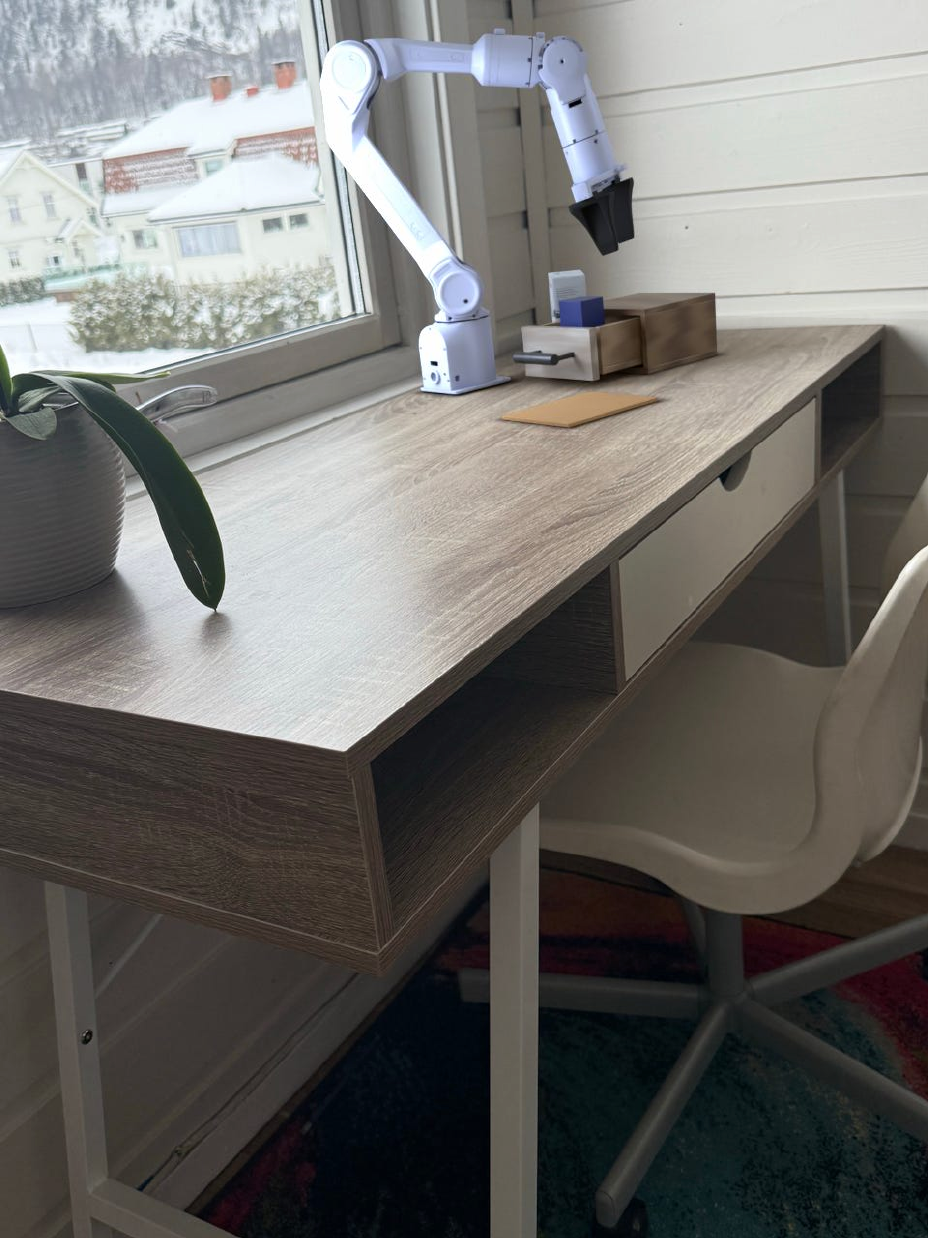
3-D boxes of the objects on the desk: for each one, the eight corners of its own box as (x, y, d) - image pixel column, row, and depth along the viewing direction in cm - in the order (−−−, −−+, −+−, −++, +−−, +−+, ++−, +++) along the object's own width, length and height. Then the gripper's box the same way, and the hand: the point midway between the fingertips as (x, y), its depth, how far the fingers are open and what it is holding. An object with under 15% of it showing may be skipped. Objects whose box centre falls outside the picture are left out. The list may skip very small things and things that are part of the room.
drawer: (568, 387, 138) (563, 334, 136) (501, 382, 148) (496, 332, 145) (661, 362, 148) (659, 312, 145) (593, 358, 157) (589, 311, 155)
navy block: (585, 365, 145) (580, 301, 142) (563, 364, 148) (558, 301, 145) (607, 360, 147) (603, 296, 144) (585, 358, 150) (580, 296, 147)
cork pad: (569, 427, 122) (568, 423, 121) (501, 419, 130) (501, 415, 130) (658, 400, 129) (658, 397, 129) (589, 394, 138) (589, 391, 137)
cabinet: (648, 374, 146) (644, 309, 143) (573, 369, 156) (568, 308, 153) (717, 354, 153) (715, 292, 150) (642, 351, 163) (638, 292, 160)
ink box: (592, 358, 162) (585, 272, 158) (557, 362, 162) (550, 277, 158) (587, 350, 170) (581, 268, 166) (554, 354, 170) (547, 272, 166)
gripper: (596, 134, 135) (632, 248, 139) (629, 120, 146) (661, 225, 151) (543, 156, 138) (580, 266, 143) (579, 140, 150) (612, 242, 154)
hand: (618, 246), depth 147 cm, fingers open, 7 cm apart
